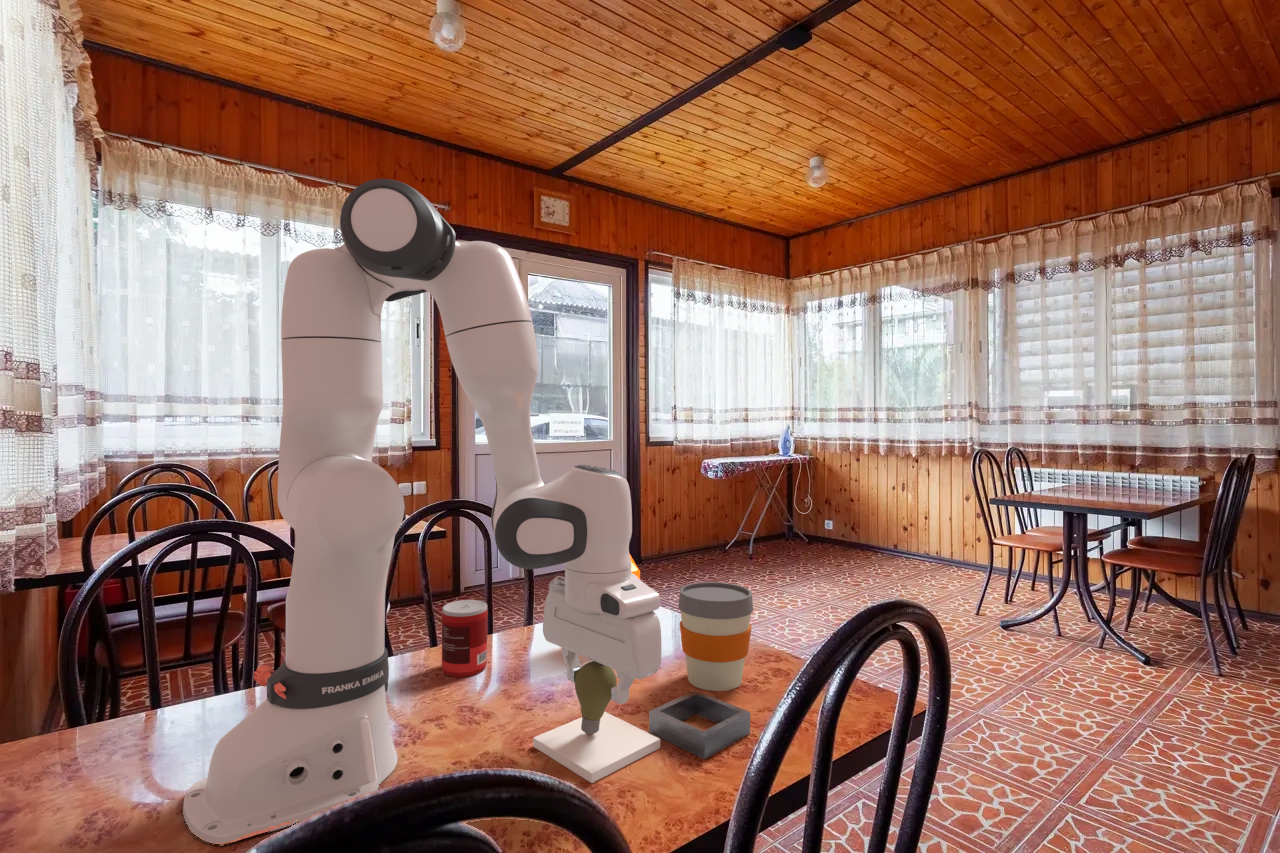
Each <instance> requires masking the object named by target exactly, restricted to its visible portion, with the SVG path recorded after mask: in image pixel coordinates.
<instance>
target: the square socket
mask: <svg viewBox="0 0 1280 853" xmlns="http://www.w3.org/2000/svg"><path fill="white" fill-rule="evenodd" d="M648 713H649V714H648V716H649V718H648V724H649V725H648V726H649V727H648V733H649V734H651V735H653V736H655V737H657V738H659V739H662V740H664V741H666V742H669V743H670V744H672V745H674V746H676V747H678V748H681V749H682V750H685V751H686V752H688V753H691V754H693V755H695V756H697V757H698V758H701V759H703V760H707V759H708V758H710V757H712V756H713V755H715V754H717V753H718V752H720V751H722V750H724V749H726V748H727V747H729V746H731V745H732V744H735V742H737V741H740V740H741V739H742V738H744V737H746V736H749V735H750V734H751V712H750V710H746V709H743V708H741V707H738V706H736V705H734V704H732V703H729V702H726V701H724V700H721V699H719V698H716V697H714V696H711V695H708V694H706V693H704V692H701V691H699V690H696V689H695V690H693V691H690V692H688V693H686V694H683V695H682V696H680V697H677V698H675V699H672V700H670V701H668V702H666V703H664V704H662V705H660V706H657V707H655V708H652V709H651V710H649V712H648ZM695 715H697V716H699V717H702V718H704V719H706V720H708V721H710V722H713V723H715V725H712V726H711V727H709V728H707V729H705V730H702V729H700V728H698V727H695V726H694V725H691V724H689V723H687V722H684V721H685V720H687V719H689V718H692V717H693V716H695Z"/></svg>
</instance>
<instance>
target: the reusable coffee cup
mask: <svg viewBox="0 0 1280 853" xmlns="http://www.w3.org/2000/svg"><path fill="white" fill-rule="evenodd" d="M679 590H680V591H679V598H678V609H679V611H680V617H681V620H680V622H679V629H680V630H679V632H680V639H681V640H680V642H681V648H682V649H681V650H682V651H683V653H684V655H685V662H686V664H685V665H686V671H687V680H688V683H690V684H691V685H693V687H696V688H698V689H701V690H706V691H711V692H726V691H731V690H734V689H737V688H739V687H740V686H741V684H742V679H743V674H744V666H745V659H746V657H747V656H748V655H749V654H748V653H749V648H750V641H751V635H752V629H753V628H752V625H751V617H752V616H751V615H752V613H753V612H754V603H753V592H752V591H751V589H749V588H747V587H745V586H742V585H738V584H734V583H727V582H717V581H715V582H714V581H709V582H708V581H707V582H706V581H704V582H693V583H689V584H686V585H683V586H682V587H680V589H679Z"/></svg>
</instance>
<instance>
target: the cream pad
mask: <svg viewBox="0 0 1280 853" xmlns="http://www.w3.org/2000/svg"><path fill="white" fill-rule="evenodd" d="M581 725H582V716H581V717H579V718H577V719H574V720H572V721H569V722H567V723H565V724H563V725H559V726H557V727H555V728H553V729H551V730H548V731H545V732H543V733H541V734H538V735H536V736H534V737H532V738H533V739H532V741H533V742H532V747H533V748H535V749H536V750H538V751H540V752H542V753H543V754H545V755H546V756H548V757H549V758H551V759H552V760H554V761H556V762H557V763H558V764H560V765H562V766H563V767H565V768H567V769H568V770H570V771H572V772H574V773H575V774H576V775H578V776H580V777H581V778H583V779H584V780H586V781H588V782H589V783H591V784H593V783H596V782H597V781H599V780H601V779H604V778H605V777H607V776H609V775H611V774H613V773H615V772H616V771H618V770H621V769H622V768H624V767H626V766H628V765H630V764H632V763H634V762H636V761H638V760H640V759H642V758H643V757H646V756H647V755H649V754H651V753H654V752H655V751H657V750H659V749H660V748H661V738H660V737H658V736H656V735H654V734H652V733H650V732H647V731H646V730H643V729H641V728H639V727H638V726H635V725H633V724H631V723H629V722H627V721H625V720H623V719H622V718H619V717H617V716H615V715H612V714H611V713H608V712H606V711H604V714H603V716H602V717H601V718H600V724H599V731H598V732H596V733H594V734H593V735H587V734H586V733H585V732H584V731H582V729H581Z"/></svg>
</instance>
